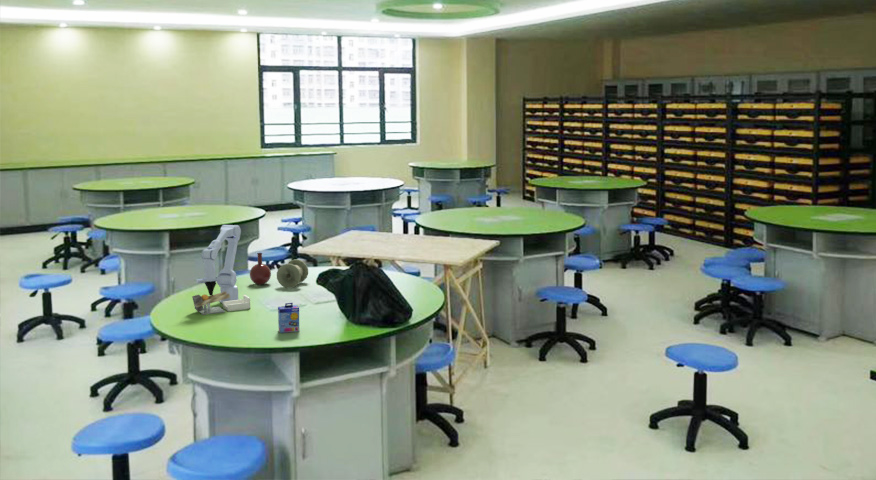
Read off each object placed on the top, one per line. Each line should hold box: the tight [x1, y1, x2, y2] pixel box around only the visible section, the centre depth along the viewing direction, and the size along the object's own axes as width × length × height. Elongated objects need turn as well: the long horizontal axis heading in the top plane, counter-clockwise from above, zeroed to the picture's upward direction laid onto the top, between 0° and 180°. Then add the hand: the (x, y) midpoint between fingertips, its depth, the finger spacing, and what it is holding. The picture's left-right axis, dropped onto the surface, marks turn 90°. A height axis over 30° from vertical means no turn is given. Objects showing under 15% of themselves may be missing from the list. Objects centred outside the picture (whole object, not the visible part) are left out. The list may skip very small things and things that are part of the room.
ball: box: [200, 294, 209, 301], centre depth 408 cm, size 4×4×4 cm
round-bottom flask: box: [249, 252, 272, 286], centre depth 478 cm, size 13×13×20 cm
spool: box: [276, 259, 309, 289], centre depth 476 cm, size 16×15×15 cm
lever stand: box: [198, 303, 226, 316], centre depth 410 cm, size 12×12×6 cm
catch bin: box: [222, 294, 251, 312], centre depth 417 cm, size 12×10×6 cm
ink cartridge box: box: [277, 302, 300, 334], centre depth 371 cm, size 10×6×14 cm, turn 112°
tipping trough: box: [191, 291, 230, 313], centre depth 412 cm, size 18×12×7 cm, turn 120°
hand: (210, 295), depth 416 cm, fingers closed
